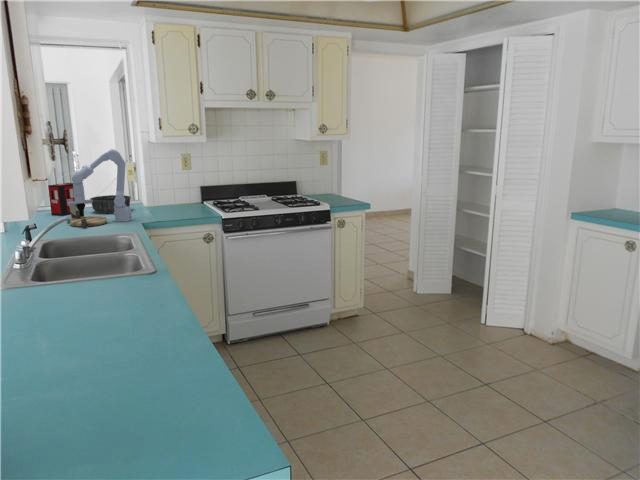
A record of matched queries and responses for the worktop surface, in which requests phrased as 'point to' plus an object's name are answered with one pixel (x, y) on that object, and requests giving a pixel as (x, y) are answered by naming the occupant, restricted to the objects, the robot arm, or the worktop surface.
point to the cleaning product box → (61, 198)
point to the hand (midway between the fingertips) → (81, 215)
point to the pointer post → (84, 223)
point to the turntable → (88, 220)
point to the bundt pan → (106, 203)
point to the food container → (74, 211)
